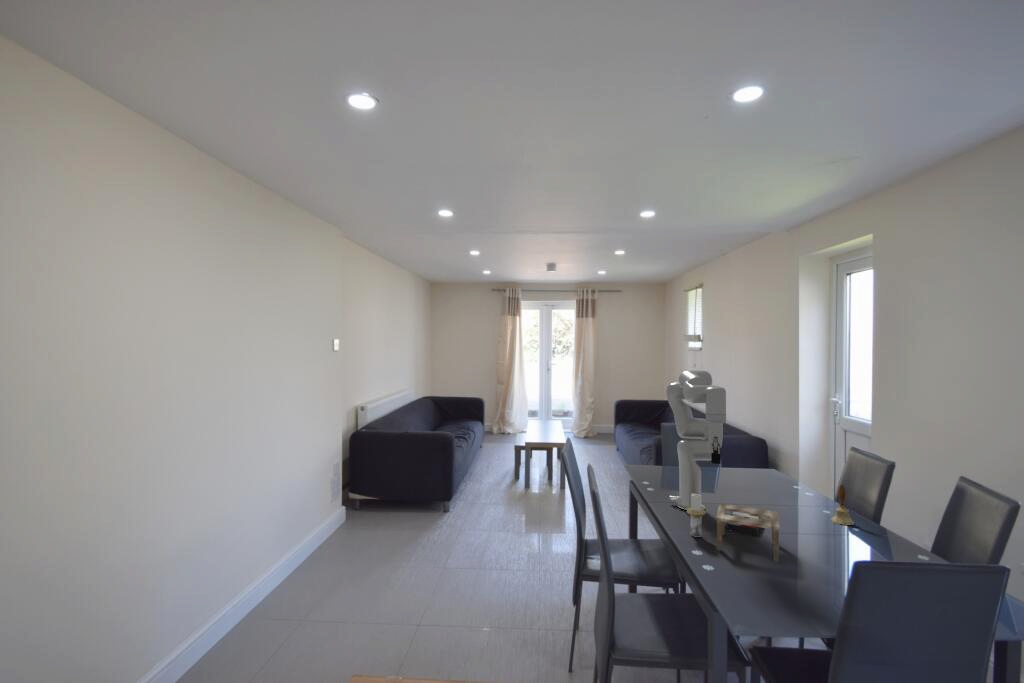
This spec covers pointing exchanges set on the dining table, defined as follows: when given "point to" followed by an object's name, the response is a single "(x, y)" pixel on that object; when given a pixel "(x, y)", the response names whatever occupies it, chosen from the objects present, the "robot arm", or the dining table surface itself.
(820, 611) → the dining table surface
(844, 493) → the hand bell
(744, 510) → the shelf
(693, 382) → the robot arm
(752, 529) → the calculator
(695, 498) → the peg
